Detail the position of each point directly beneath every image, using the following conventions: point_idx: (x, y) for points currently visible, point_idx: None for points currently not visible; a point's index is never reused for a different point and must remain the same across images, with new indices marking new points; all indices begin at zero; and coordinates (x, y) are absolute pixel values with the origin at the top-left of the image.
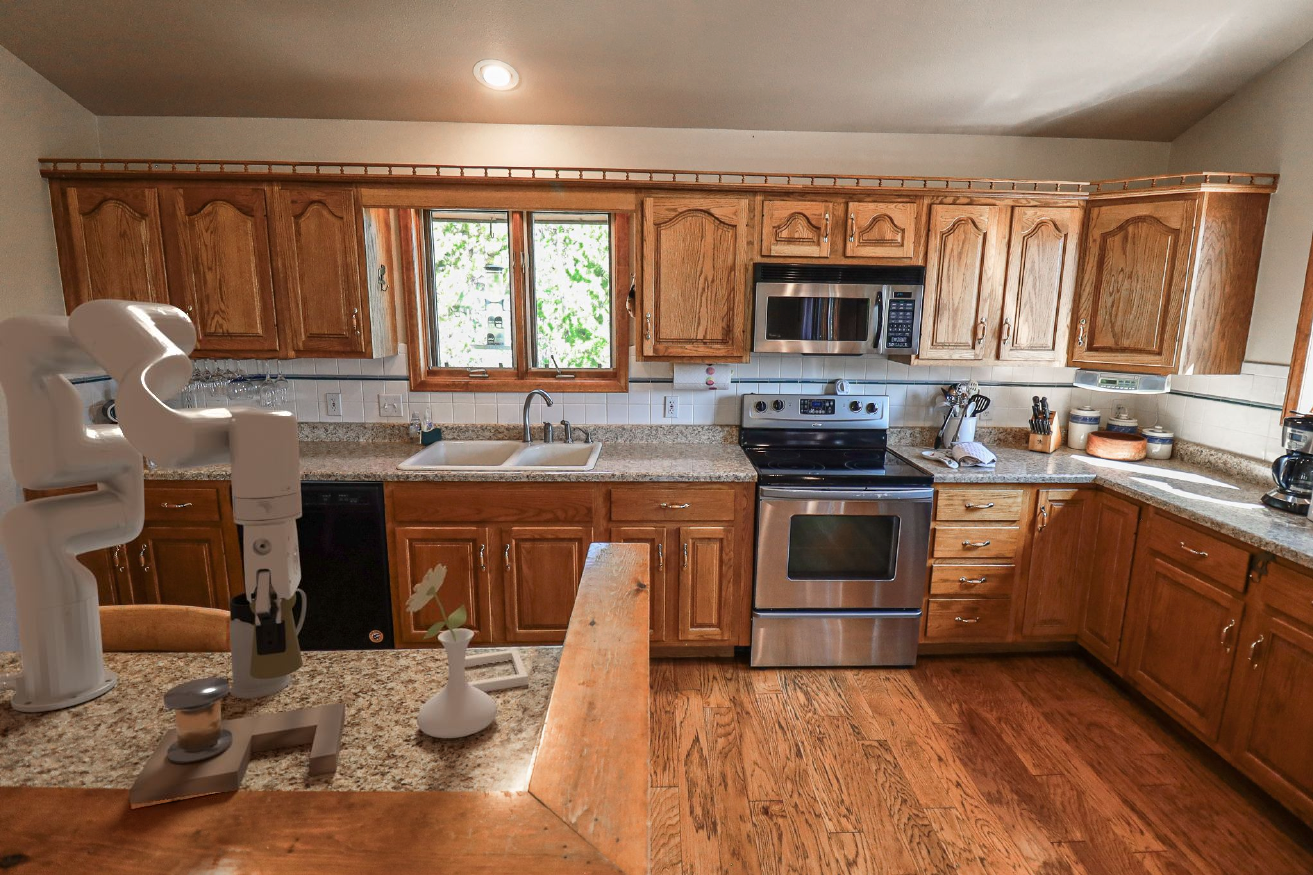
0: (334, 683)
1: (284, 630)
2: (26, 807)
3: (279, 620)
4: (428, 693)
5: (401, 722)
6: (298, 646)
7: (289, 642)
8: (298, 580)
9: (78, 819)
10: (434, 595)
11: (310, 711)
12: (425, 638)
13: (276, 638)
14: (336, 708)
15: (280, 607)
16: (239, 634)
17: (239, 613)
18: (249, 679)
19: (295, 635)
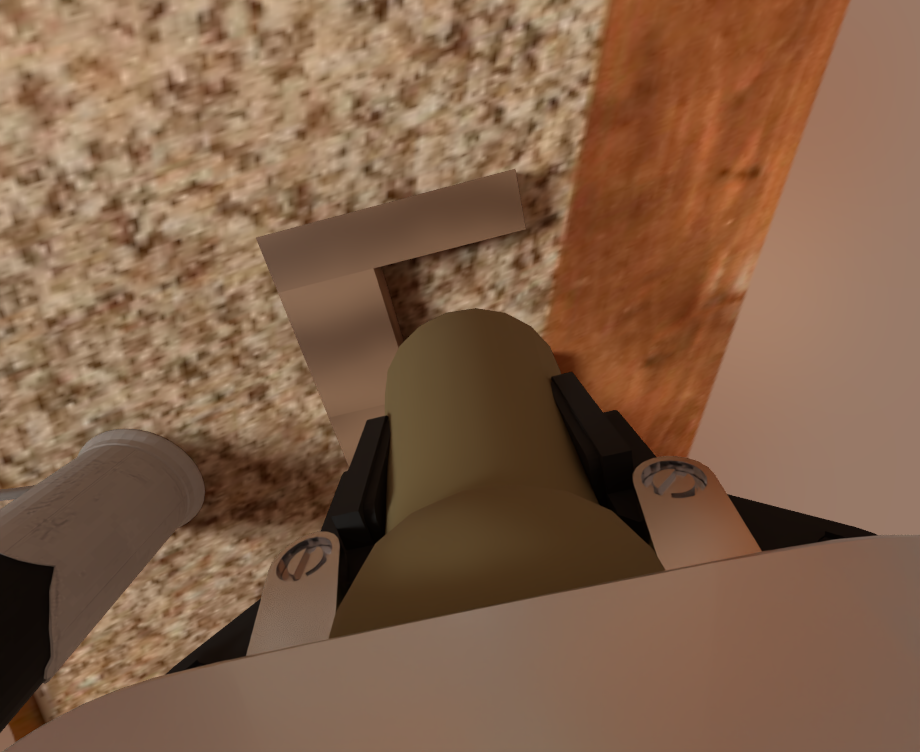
0: (99, 326)
1: (605, 421)
2: None
3: (713, 475)
4: (101, 3)
5: (286, 56)
6: (464, 346)
7: (535, 377)
8: (300, 705)
9: None
10: None
11: (308, 311)
12: None
13: (632, 431)
14: (290, 248)
15: (757, 545)
16: (88, 620)
17: (24, 688)
18: (173, 507)
19: (481, 375)
